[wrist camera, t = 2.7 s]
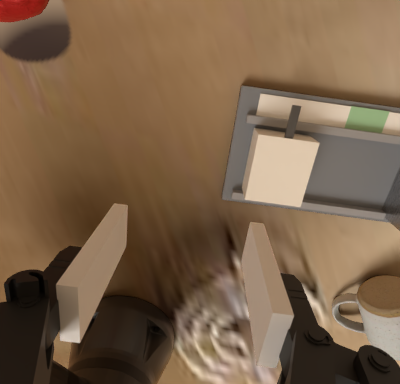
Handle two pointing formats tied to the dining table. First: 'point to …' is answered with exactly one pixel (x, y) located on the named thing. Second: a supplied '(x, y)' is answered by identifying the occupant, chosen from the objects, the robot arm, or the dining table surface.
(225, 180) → the gauge bed
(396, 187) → the grey flat slab
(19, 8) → the red carved pumpkin
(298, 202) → the beige block with rod
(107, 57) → the dining table surface
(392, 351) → the ceramic mug
